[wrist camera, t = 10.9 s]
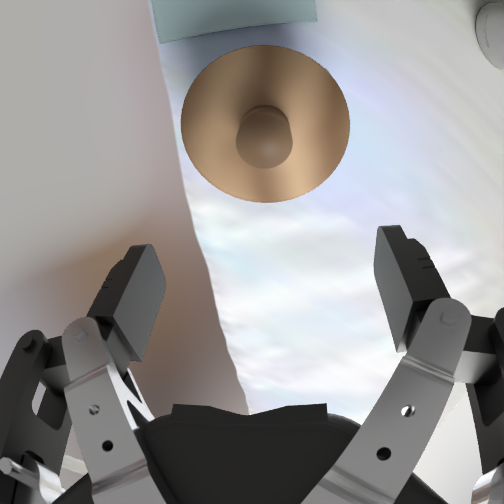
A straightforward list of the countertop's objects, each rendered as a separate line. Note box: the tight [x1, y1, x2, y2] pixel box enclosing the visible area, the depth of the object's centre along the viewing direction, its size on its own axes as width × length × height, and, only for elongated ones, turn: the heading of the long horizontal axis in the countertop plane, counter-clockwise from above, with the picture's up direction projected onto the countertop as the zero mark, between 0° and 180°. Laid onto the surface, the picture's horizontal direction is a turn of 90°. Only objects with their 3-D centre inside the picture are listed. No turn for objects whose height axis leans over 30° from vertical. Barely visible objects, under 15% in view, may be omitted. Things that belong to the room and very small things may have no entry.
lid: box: [181, 45, 350, 203], centre depth 24 cm, size 14×14×5 cm
